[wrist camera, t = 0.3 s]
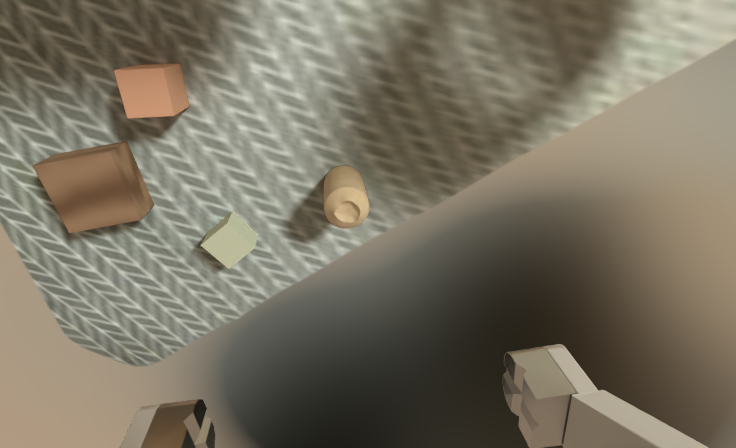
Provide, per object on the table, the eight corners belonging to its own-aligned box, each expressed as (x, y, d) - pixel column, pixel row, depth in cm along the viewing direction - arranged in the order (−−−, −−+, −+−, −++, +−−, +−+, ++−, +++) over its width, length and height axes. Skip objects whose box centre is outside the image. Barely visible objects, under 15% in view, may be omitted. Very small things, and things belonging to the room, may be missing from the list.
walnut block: (57, 153, 52) (32, 165, 48) (127, 140, 52) (109, 151, 48) (89, 216, 56) (69, 233, 52) (154, 204, 56) (140, 220, 52)
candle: (322, 200, 58) (322, 232, 50) (325, 163, 56) (326, 189, 47) (360, 203, 59) (367, 235, 50) (365, 166, 57) (373, 193, 48)
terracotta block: (136, 65, 49) (113, 70, 43) (180, 63, 49) (163, 68, 44) (147, 108, 51) (127, 118, 45) (189, 106, 51) (174, 116, 46)
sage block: (232, 210, 58) (227, 223, 54) (258, 234, 60) (254, 248, 56) (207, 231, 59) (200, 245, 55) (233, 254, 61) (228, 268, 57)
